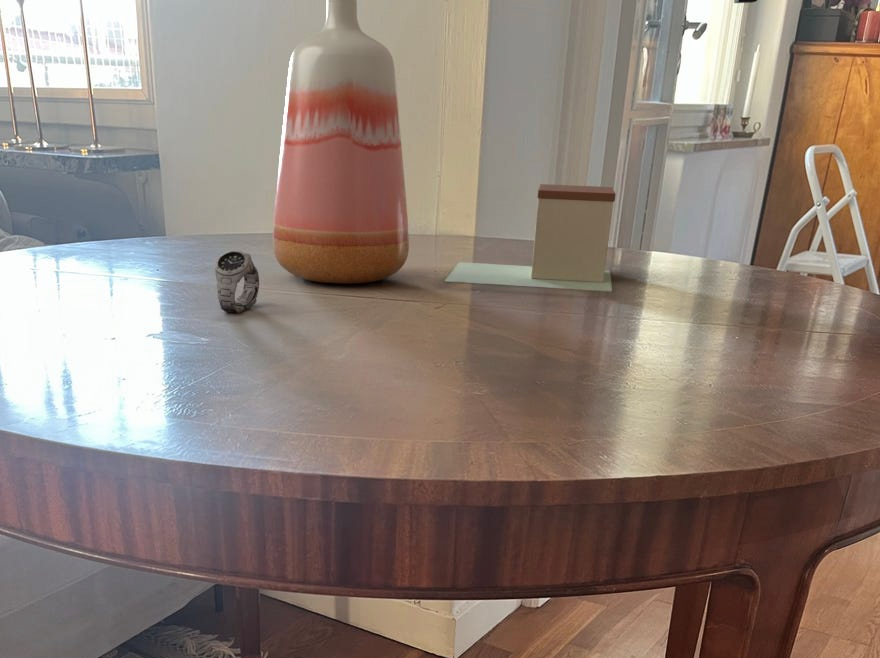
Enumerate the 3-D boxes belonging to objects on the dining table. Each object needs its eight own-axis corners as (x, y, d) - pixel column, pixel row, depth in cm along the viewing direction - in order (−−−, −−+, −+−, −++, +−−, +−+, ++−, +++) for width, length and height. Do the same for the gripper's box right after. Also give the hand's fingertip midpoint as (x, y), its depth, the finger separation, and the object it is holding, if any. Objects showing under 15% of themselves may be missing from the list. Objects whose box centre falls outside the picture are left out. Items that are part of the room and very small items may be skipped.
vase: (389, 266, 111) (395, -45, 96) (423, 289, 99) (437, -64, 84) (265, 268, 107) (252, -55, 93) (285, 291, 95) (274, -76, 81)
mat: (609, 272, 113) (609, 270, 113) (612, 293, 101) (612, 291, 101) (459, 263, 115) (459, 262, 115) (444, 283, 103) (444, 281, 103)
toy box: (601, 271, 112) (612, 187, 108) (604, 282, 105) (615, 193, 101) (532, 267, 113) (539, 184, 109) (529, 278, 106) (538, 190, 102)
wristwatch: (209, 313, 85) (205, 253, 83) (237, 301, 90) (234, 244, 88) (245, 316, 85) (242, 256, 82) (272, 304, 90) (270, 247, 87)
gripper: (714, -409, 66) (669, 2, 78) (915, -426, 64) (836, -2, 76) (702, -369, 72) (662, 6, 84) (885, -384, 70) (817, 1, 82)
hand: (745, 1), depth 80 cm, fingers closed
